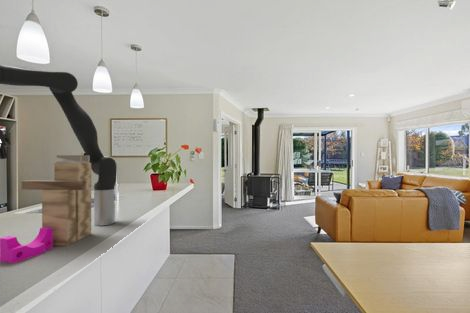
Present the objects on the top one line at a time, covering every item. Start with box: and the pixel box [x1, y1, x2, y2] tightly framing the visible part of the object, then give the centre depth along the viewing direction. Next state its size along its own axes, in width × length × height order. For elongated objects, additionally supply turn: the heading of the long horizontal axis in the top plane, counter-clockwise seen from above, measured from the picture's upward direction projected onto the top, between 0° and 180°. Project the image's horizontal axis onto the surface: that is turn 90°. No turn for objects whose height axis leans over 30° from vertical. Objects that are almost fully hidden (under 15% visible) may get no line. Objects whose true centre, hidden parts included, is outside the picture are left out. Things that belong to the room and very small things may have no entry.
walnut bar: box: [21, 179, 86, 191], centre depth 107 cm, size 3×24×3 cm, turn 86°
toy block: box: [0, 227, 54, 264], centre depth 95 cm, size 15×6×8 cm, turn 160°
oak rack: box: [41, 154, 92, 246], centre depth 113 cm, size 16×10×34 cm, turn 176°
